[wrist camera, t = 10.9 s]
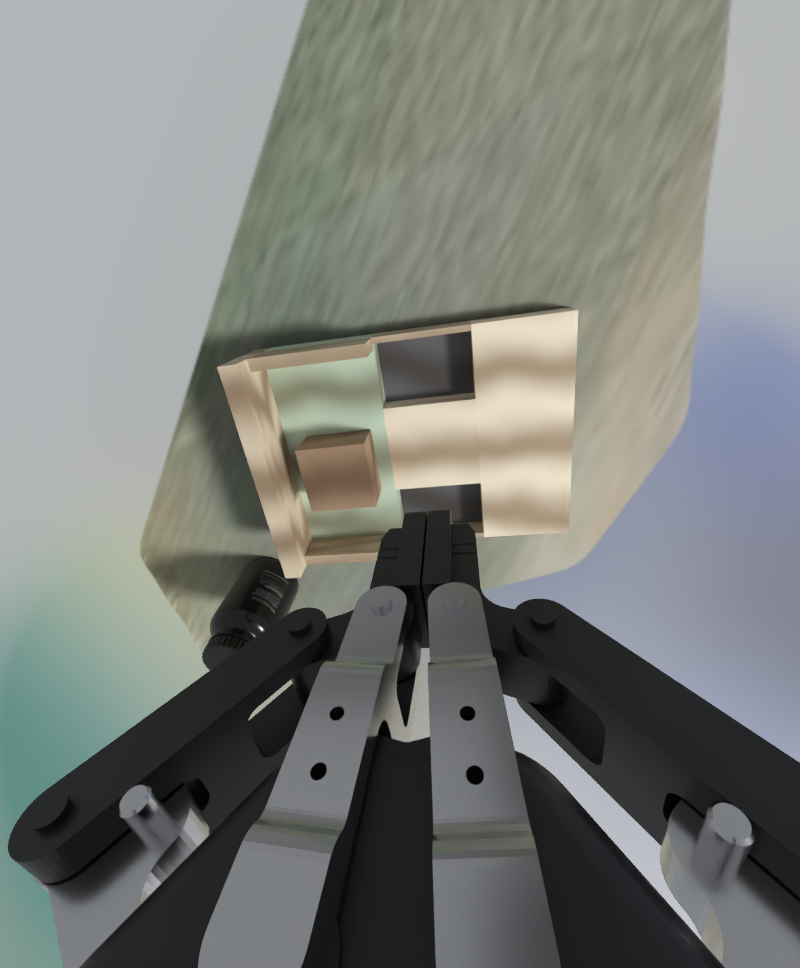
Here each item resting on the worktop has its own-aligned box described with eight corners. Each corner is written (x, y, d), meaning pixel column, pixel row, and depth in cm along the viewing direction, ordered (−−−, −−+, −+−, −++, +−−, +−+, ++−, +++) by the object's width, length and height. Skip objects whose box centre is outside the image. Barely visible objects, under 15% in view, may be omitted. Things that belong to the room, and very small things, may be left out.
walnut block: (306, 436, 39) (294, 450, 36) (370, 429, 38) (363, 443, 35) (321, 493, 42) (311, 511, 39) (381, 488, 41) (376, 506, 38)
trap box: (256, 349, 38) (216, 366, 32) (569, 307, 34) (599, 317, 28) (308, 534, 47) (285, 578, 41) (562, 518, 43) (583, 564, 37)
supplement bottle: (233, 563, 50) (176, 642, 40) (284, 550, 49) (238, 629, 38) (260, 605, 53) (214, 691, 42) (309, 595, 51) (273, 681, 41)
